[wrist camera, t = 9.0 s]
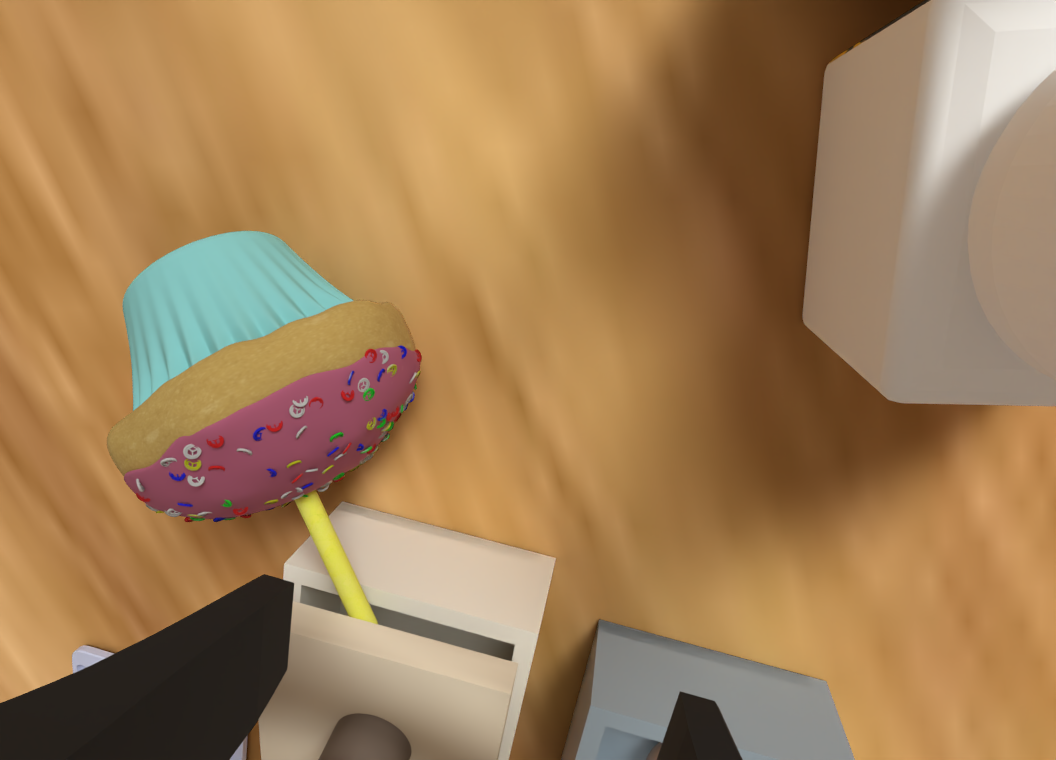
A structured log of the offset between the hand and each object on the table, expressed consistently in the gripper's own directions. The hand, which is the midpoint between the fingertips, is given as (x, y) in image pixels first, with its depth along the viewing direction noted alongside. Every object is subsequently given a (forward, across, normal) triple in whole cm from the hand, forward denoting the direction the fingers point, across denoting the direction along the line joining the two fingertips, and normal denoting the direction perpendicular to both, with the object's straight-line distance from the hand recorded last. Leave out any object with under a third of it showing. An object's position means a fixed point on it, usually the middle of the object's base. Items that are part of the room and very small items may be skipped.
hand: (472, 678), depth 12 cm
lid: (+6, +3, +8) cm, 10 cm away
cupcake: (+8, +11, -4) cm, 14 cm away
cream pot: (+10, +3, +8) cm, 13 cm away
